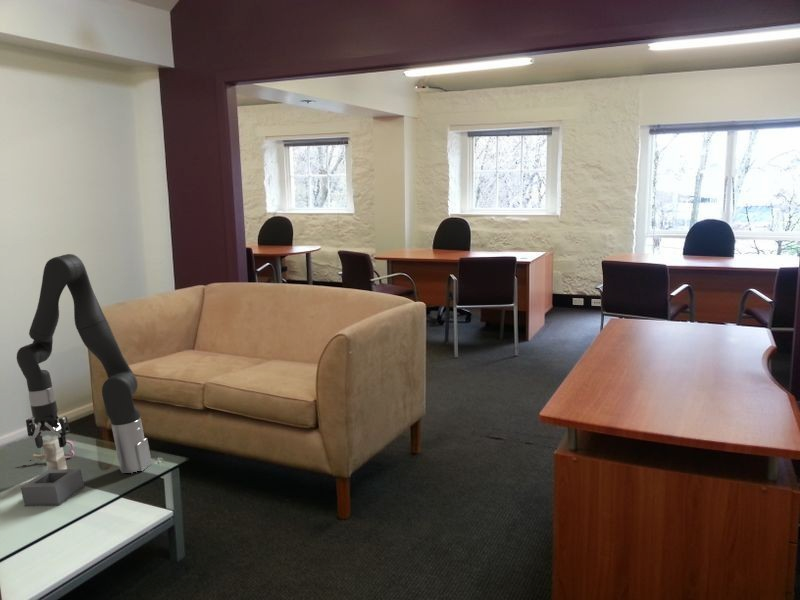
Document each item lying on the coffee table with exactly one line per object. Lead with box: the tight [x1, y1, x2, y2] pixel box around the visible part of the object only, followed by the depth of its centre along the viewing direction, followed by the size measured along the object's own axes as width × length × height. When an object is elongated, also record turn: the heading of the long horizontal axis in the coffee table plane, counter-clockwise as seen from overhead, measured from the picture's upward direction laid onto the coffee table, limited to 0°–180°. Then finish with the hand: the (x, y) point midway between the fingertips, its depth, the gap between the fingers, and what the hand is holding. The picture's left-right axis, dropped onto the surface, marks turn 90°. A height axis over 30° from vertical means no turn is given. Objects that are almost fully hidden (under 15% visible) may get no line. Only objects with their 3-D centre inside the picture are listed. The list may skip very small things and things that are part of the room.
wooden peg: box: [42, 438, 68, 470], centre depth 218 cm, size 4×4×12 cm
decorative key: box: [32, 439, 75, 461], centre depth 231 cm, size 7×1×20 cm
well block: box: [20, 468, 85, 507], centre depth 201 cm, size 12×12×6 cm
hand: (51, 446), depth 217 cm, fingers open, 8 cm apart
